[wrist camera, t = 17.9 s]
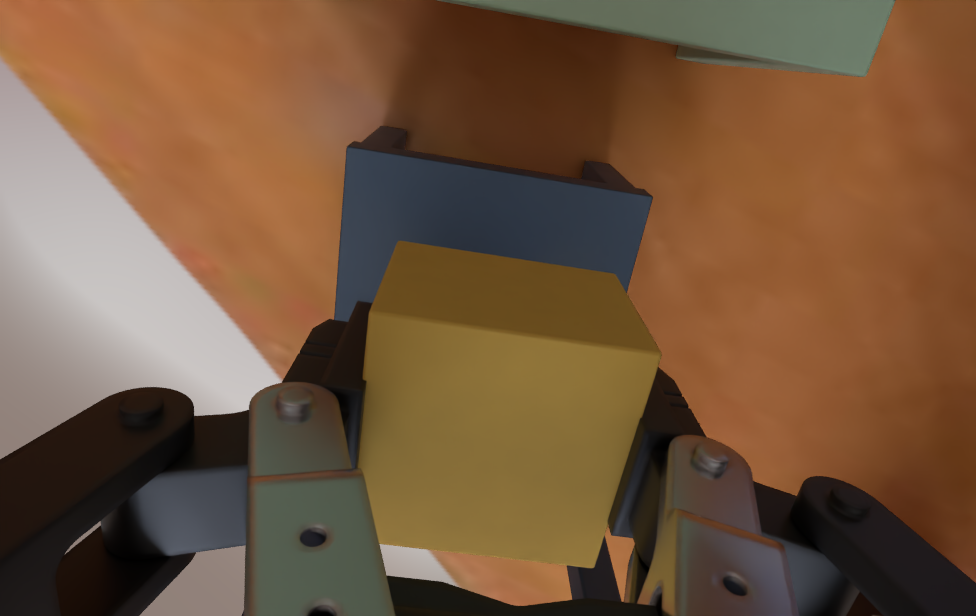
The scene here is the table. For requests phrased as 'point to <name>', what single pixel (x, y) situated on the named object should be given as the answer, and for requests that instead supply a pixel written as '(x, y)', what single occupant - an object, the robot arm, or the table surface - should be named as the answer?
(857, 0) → the side table
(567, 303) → the mustard yellow cube
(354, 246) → the chair
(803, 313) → the table surface
